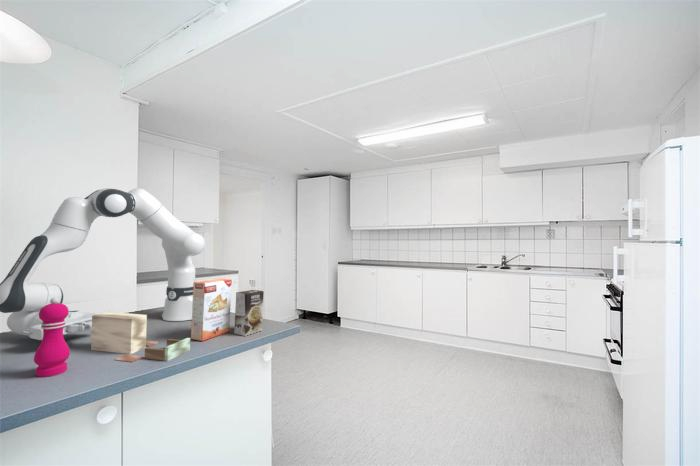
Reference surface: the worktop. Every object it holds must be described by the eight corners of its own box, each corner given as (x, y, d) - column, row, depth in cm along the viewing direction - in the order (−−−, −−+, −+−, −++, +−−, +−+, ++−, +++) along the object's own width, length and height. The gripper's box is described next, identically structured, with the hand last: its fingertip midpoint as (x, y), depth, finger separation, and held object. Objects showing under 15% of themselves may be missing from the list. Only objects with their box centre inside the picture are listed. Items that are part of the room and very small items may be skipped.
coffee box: (245, 336, 126) (246, 293, 126) (233, 333, 129) (235, 291, 129) (263, 331, 134) (264, 290, 134) (251, 328, 137) (252, 289, 137)
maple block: (107, 344, 113) (109, 311, 114) (145, 348, 110) (146, 314, 111) (90, 349, 107) (92, 315, 108) (130, 354, 104) (131, 319, 105)
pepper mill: (67, 374, 89) (70, 298, 89) (30, 380, 84) (33, 301, 85) (70, 365, 94) (73, 294, 95) (35, 370, 90) (38, 296, 91)
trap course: (143, 341, 117) (144, 329, 117) (196, 346, 113) (197, 334, 113) (98, 358, 100) (98, 344, 100) (158, 365, 96) (159, 351, 96)
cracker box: (202, 342, 118) (204, 282, 118) (190, 339, 120) (192, 281, 121) (230, 332, 131) (232, 278, 131) (218, 330, 133) (220, 277, 134)
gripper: (18, 322, 104) (54, 326, 101) (83, 309, 124) (114, 312, 121) (17, 342, 104) (53, 347, 101) (82, 326, 124) (113, 329, 121)
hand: (87, 327), depth 111 cm, fingers closed
